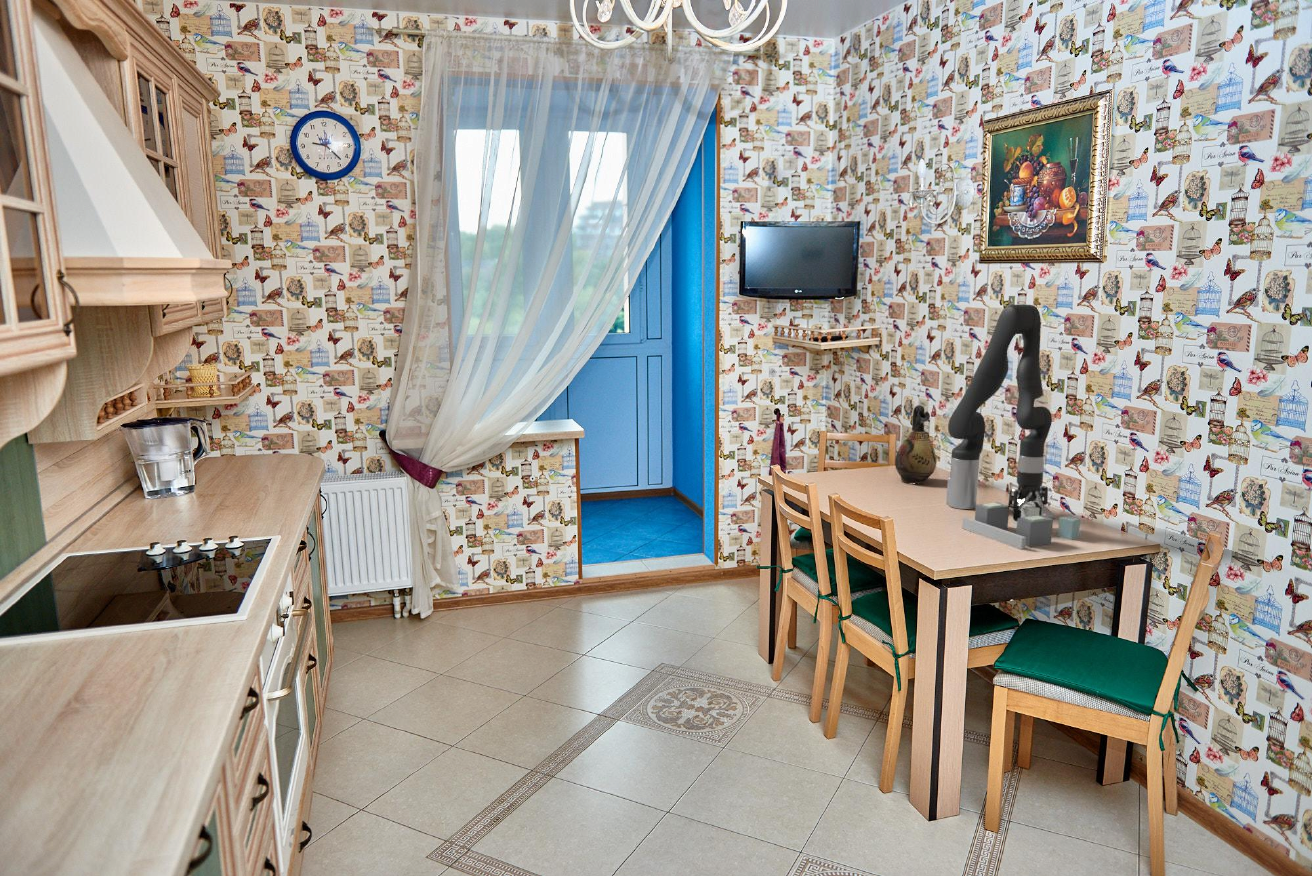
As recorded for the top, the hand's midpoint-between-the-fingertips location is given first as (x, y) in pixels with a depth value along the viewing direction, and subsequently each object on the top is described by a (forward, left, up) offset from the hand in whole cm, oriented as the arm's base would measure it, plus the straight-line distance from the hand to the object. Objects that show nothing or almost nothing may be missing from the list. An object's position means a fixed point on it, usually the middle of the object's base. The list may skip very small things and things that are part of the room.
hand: (1026, 519), depth 280 cm
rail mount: (+5, -13, -3) cm, 14 cm away
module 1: (0, 0, -3) cm, 3 cm away
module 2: (+13, +4, -3) cm, 13 cm away
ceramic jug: (-67, +12, -3) cm, 69 cm away
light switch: (-11, +14, -3) cm, 18 cm away
